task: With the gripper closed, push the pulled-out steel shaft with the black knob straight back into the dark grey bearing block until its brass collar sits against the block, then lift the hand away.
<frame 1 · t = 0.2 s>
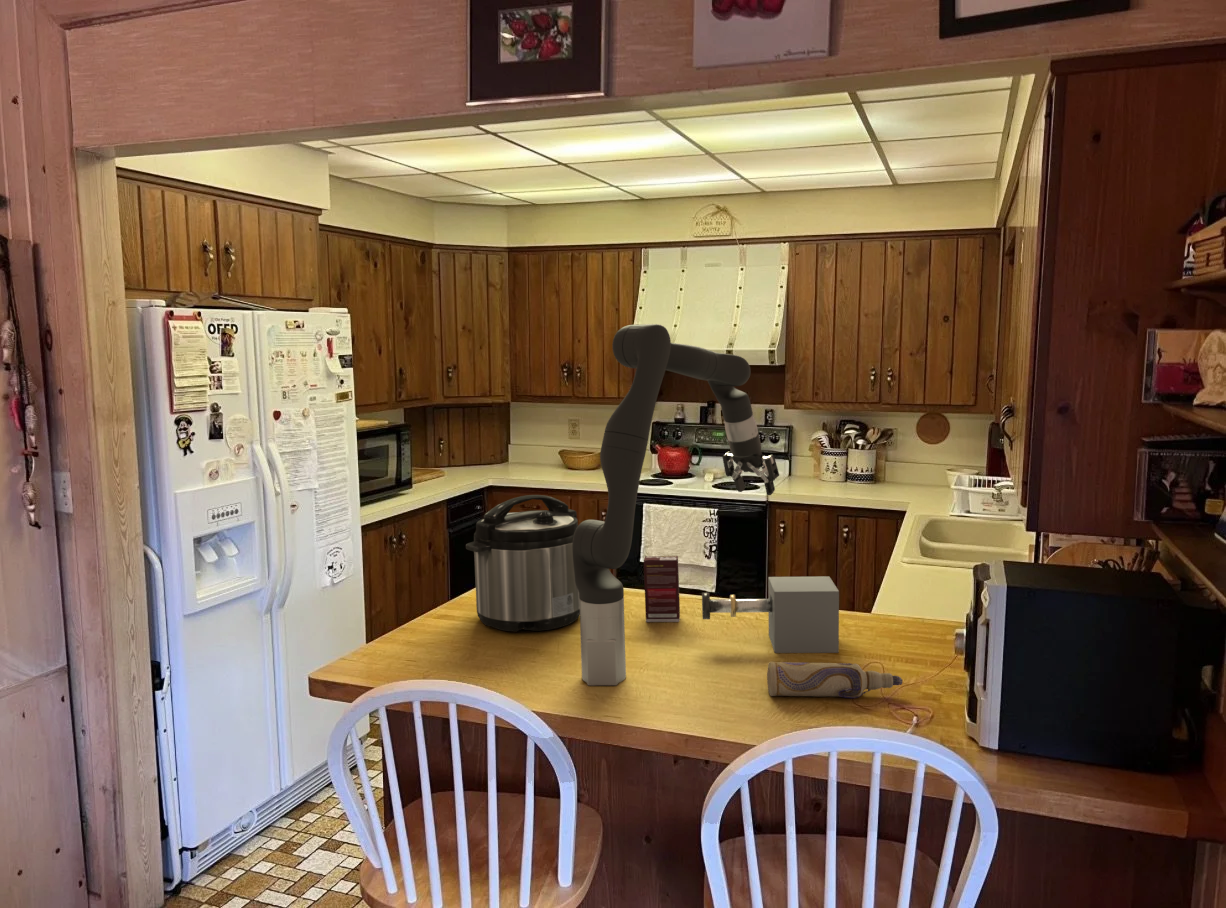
hand: (756, 492, 222), 31 cm above the counter, tool tilted 20°, fingers open, 8 cm apart
supplement box: (662, 620, 223), on the counter
pressure cooker: (529, 618, 227), on the counter
decorative bottle: (830, 698, 174), on the counter
bearing block: (802, 643, 203), on the counter
shaft: (747, 605, 203), point 9 cm above the counter, slide at 8.0 cm
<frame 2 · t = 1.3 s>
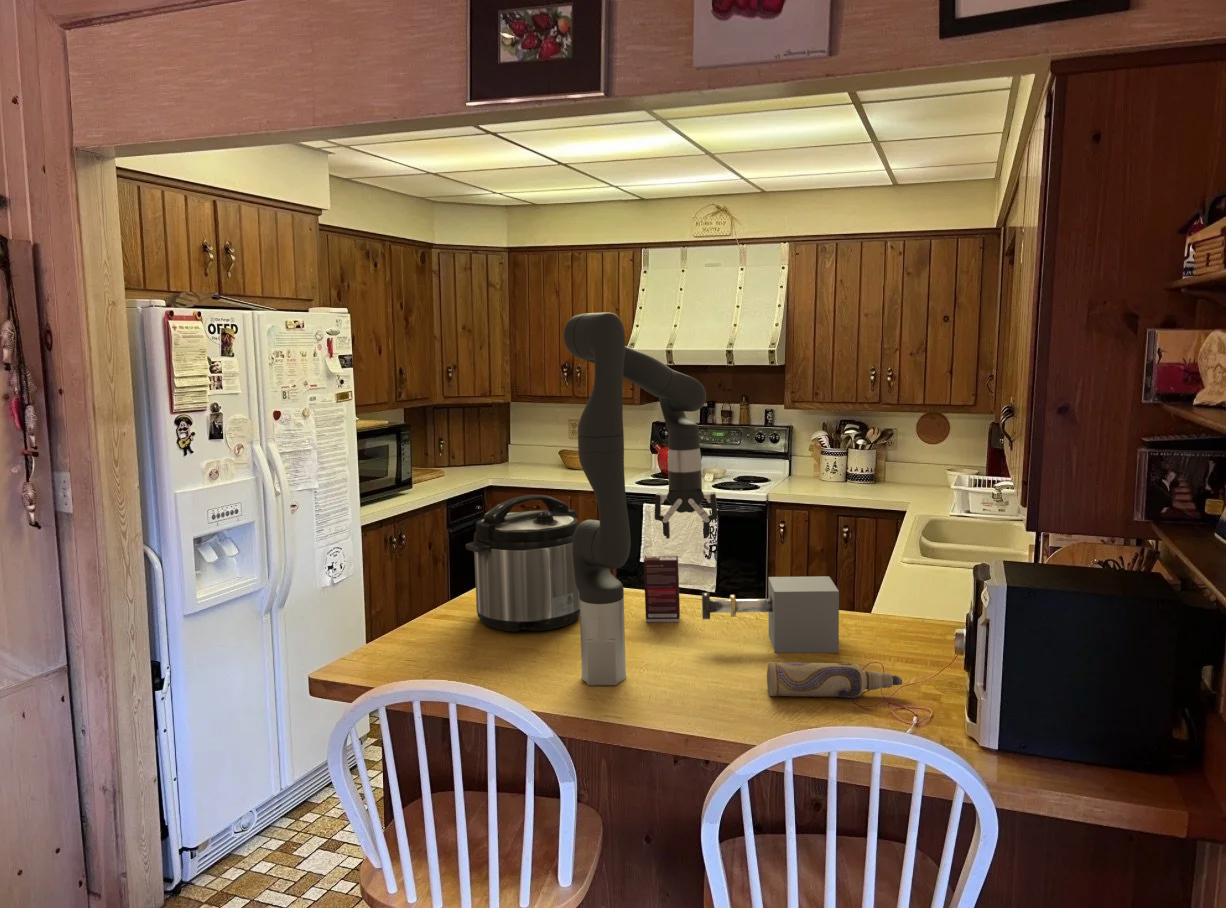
hand: (686, 537, 204), 24 cm above the counter, tool pointing down, fingers open, 8 cm apart
nothing on the counter moved.
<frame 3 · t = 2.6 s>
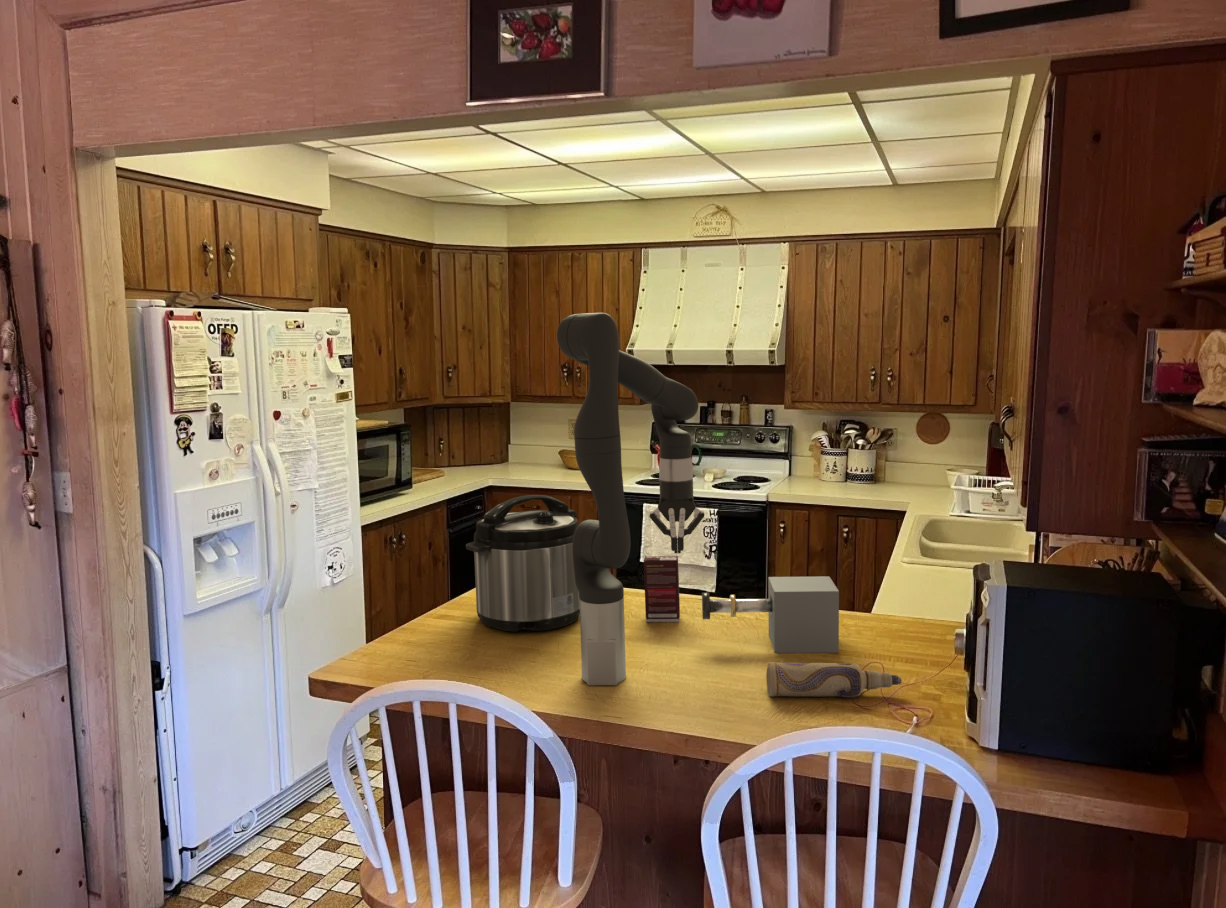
hand: (677, 552, 202), 22 cm above the counter, tool pointing down, fingers closed
nothing on the counter moved.
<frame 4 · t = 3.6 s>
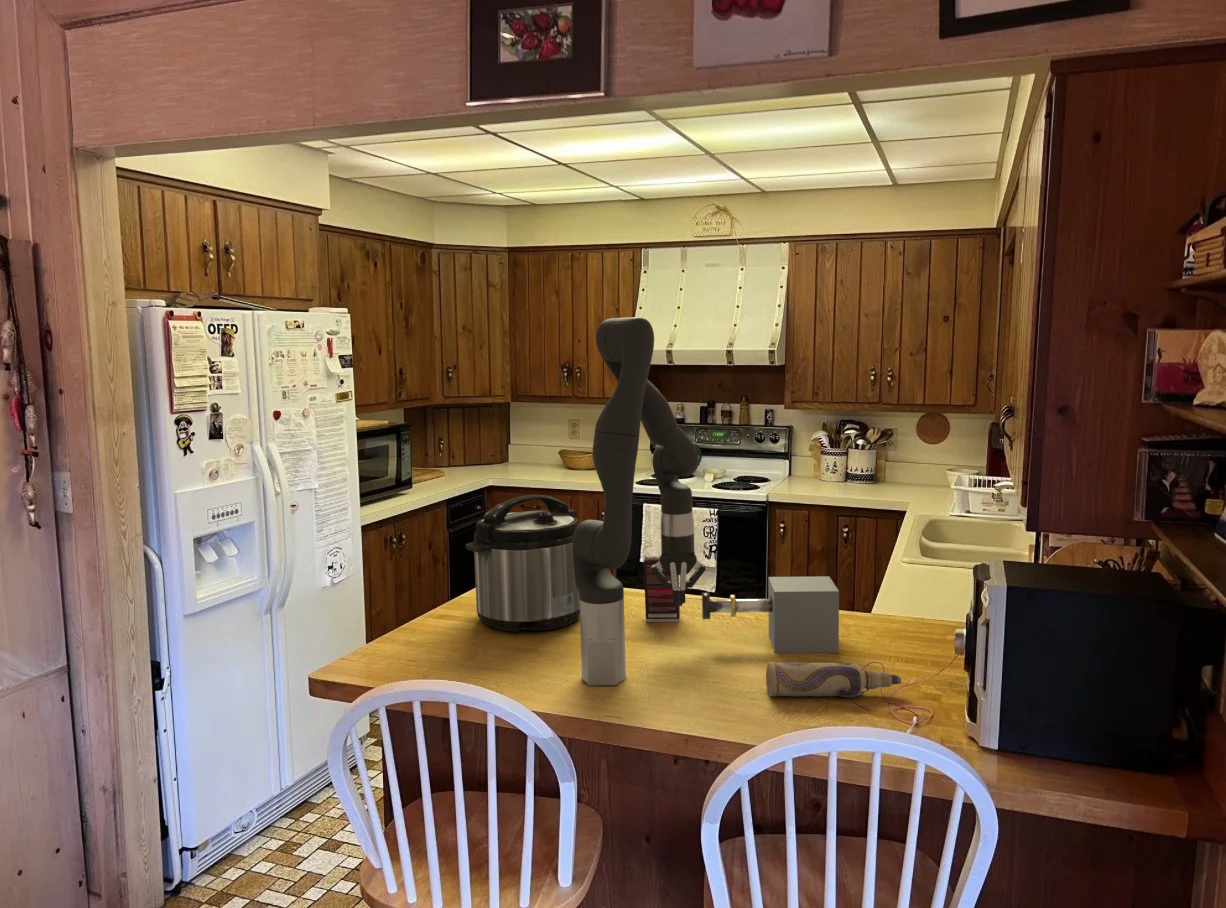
hand: (679, 605, 204), 9 cm above the counter, tool pointing down, fingers closed
nothing on the counter moved.
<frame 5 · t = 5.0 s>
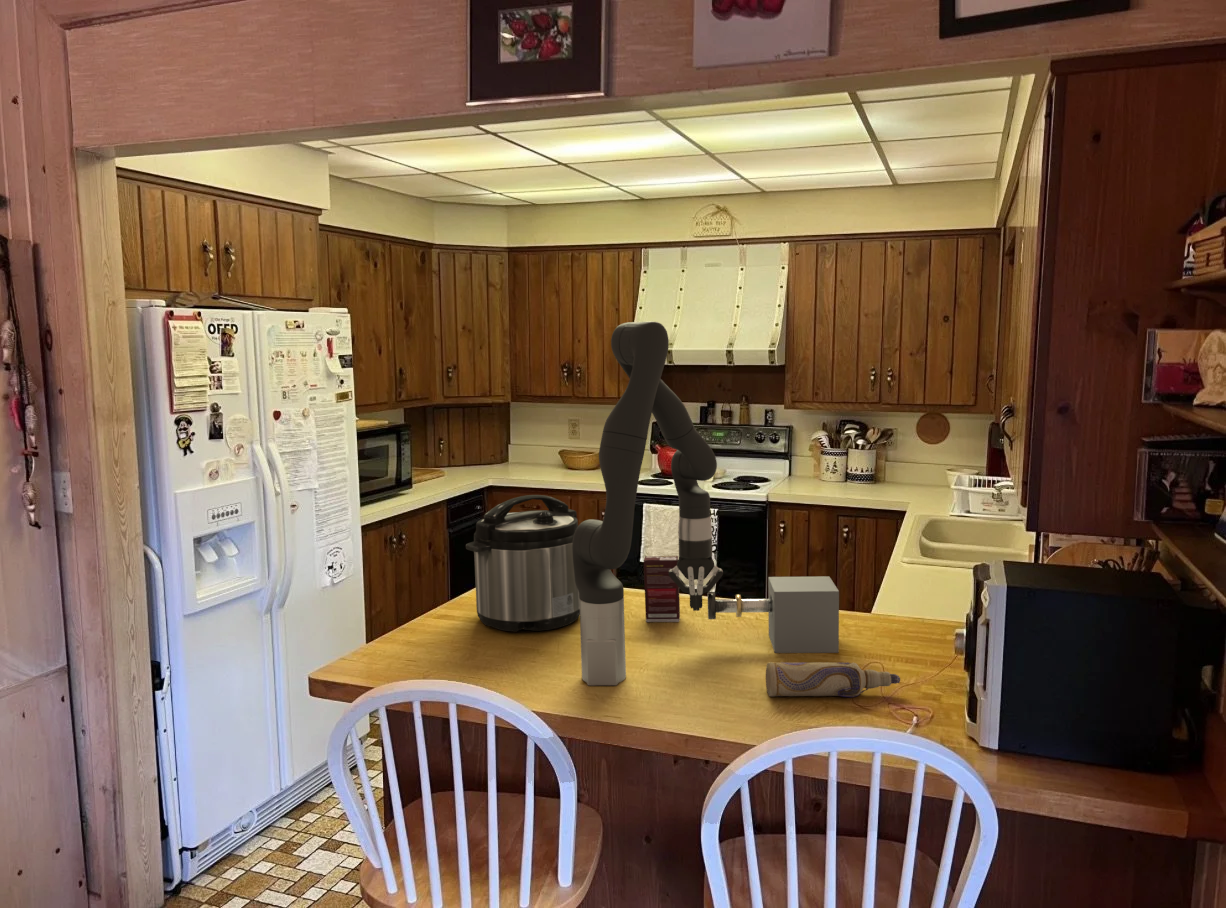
hand: (696, 609, 204), 8 cm above the counter, tool pointing down, fingers closed
shaft: (753, 605, 203), point 9 cm above the counter, slide at 6.7 cm, touching gripper
everything else where it was.
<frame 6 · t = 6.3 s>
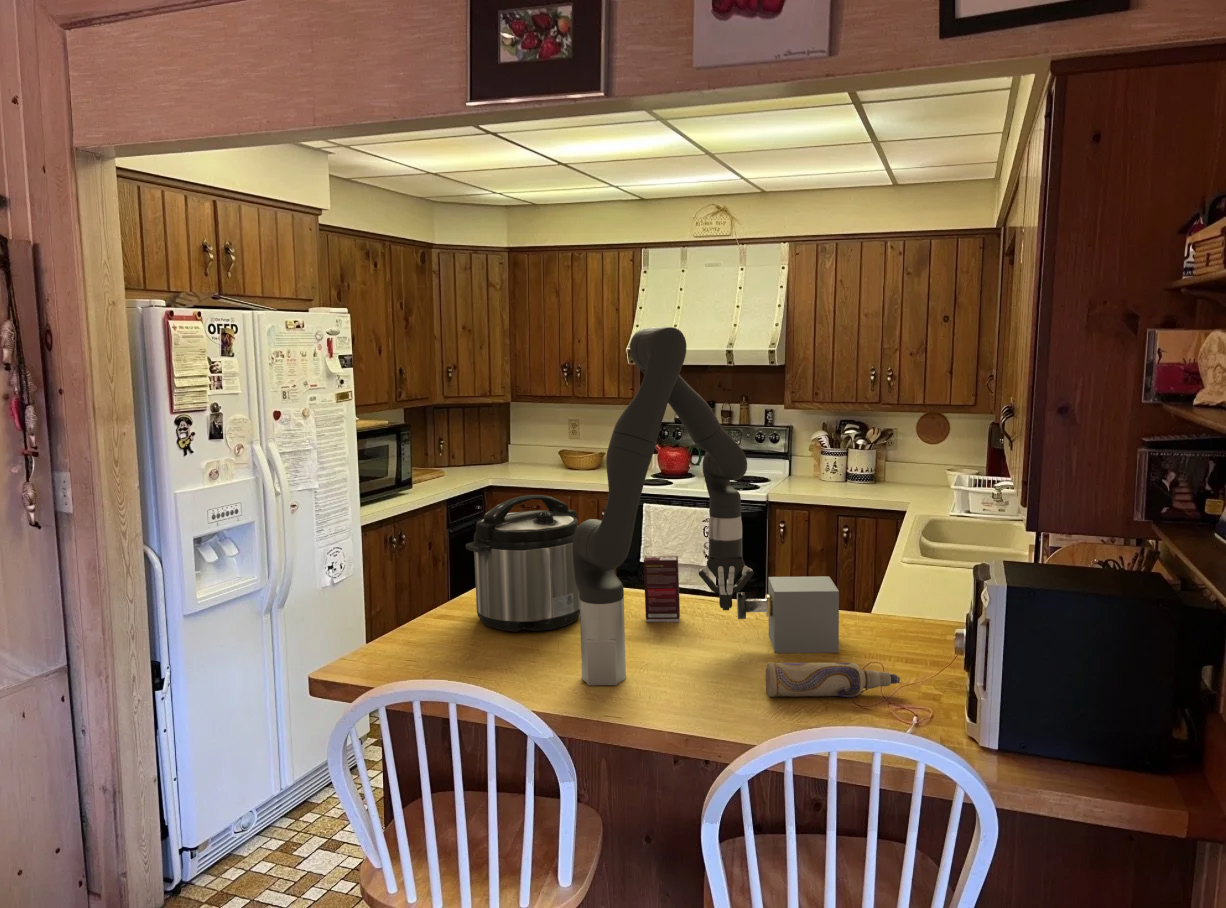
hand: (725, 609, 204), 8 cm above the counter, tool pointing down, fingers closed
shaft: (783, 605, 202), point 9 cm above the counter, slide at 0.0 cm, touching gripper
everything else where it was.
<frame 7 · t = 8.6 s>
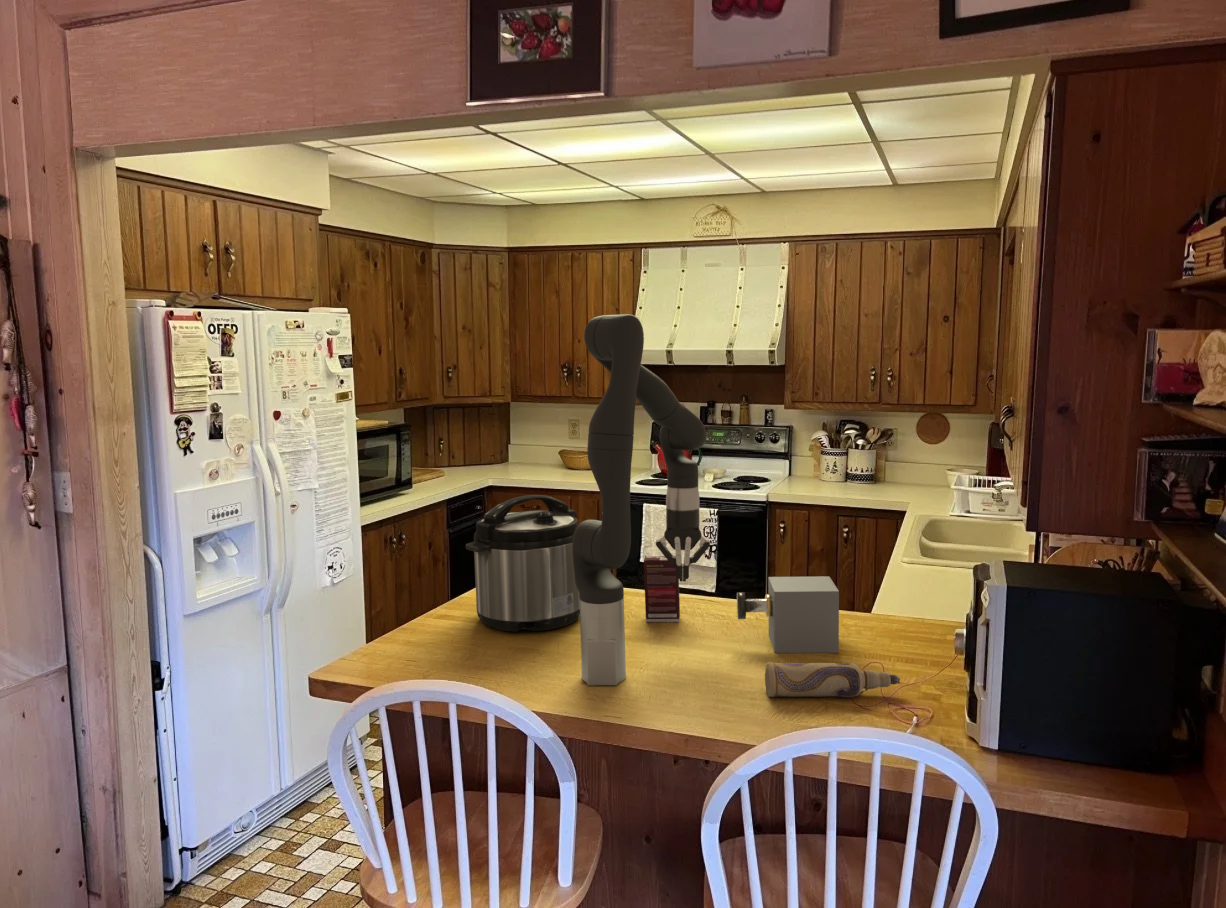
hand: (682, 580, 204), 15 cm above the counter, tool pointing down, fingers closed
shaft: (783, 605, 202), point 9 cm above the counter, slide at 0.0 cm
everything else where it was.
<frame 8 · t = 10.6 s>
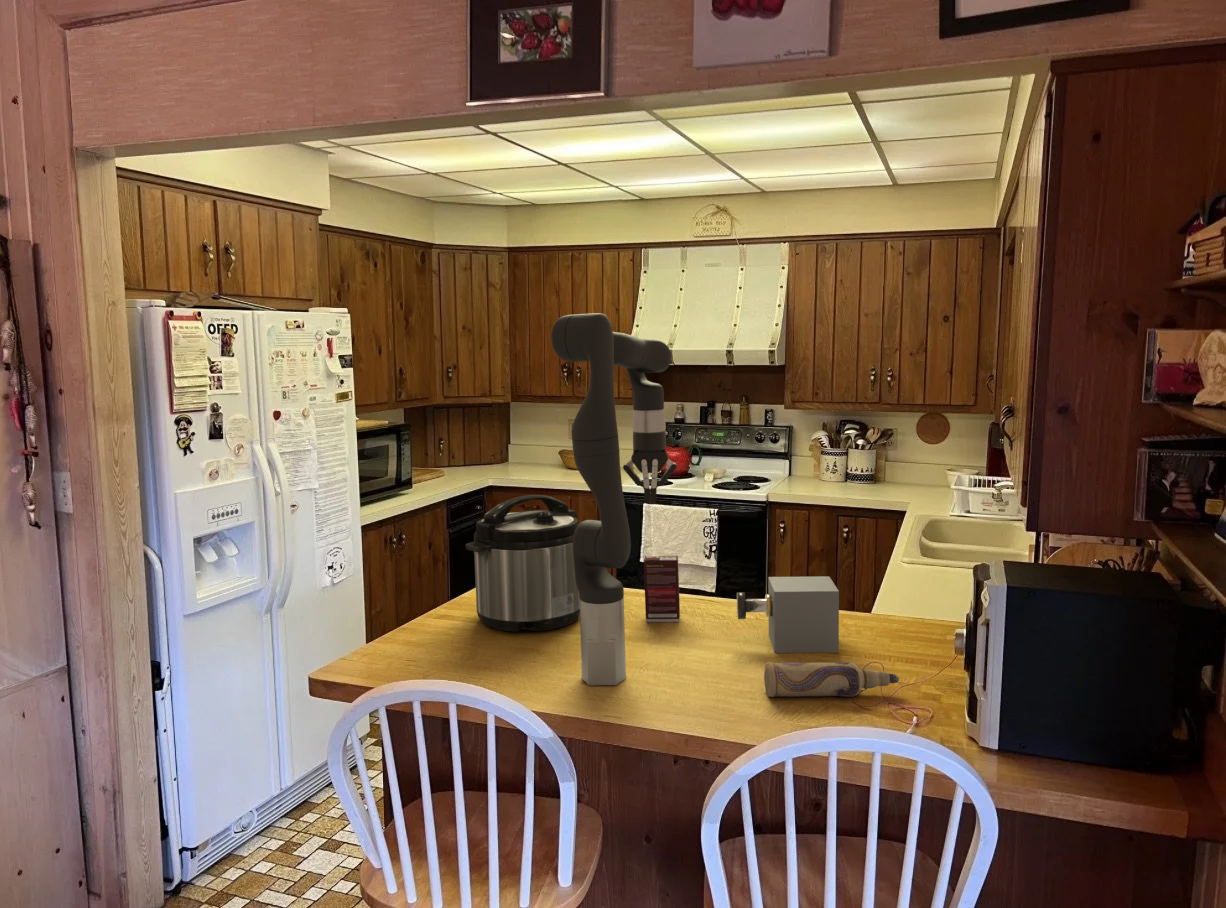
hand: (650, 503, 206), 32 cm above the counter, tool pointing down, fingers closed
nothing on the counter moved.
at the end: shaft slide at 0.0 cm; supplement box moved 0.2 cm from its start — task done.
